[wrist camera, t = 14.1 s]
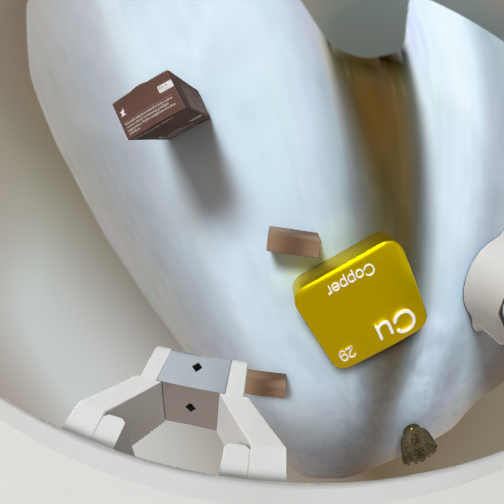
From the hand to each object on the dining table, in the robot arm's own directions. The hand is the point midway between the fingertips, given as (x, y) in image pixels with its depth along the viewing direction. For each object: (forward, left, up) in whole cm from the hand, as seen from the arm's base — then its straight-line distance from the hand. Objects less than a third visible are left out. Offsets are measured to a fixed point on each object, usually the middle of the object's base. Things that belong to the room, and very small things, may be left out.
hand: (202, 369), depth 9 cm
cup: (-38, +40, -29) cm, 62 cm away
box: (+10, -10, -29) cm, 33 cm away
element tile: (-16, +11, -30) cm, 35 cm away
